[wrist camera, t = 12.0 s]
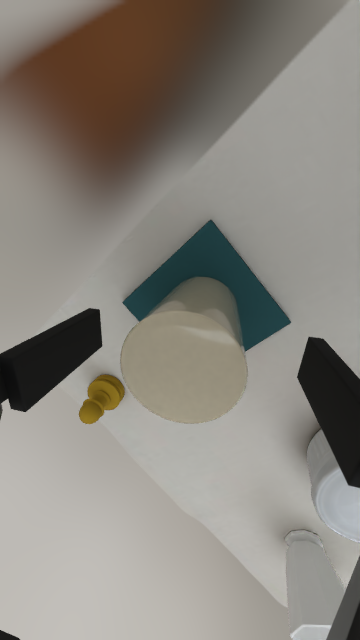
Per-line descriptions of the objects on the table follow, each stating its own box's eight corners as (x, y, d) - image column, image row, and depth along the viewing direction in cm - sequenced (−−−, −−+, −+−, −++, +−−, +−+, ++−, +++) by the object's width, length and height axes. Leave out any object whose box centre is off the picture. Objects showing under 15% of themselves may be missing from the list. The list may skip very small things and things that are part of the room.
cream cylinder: (167, 273, 20) (117, 303, 11) (244, 280, 19) (259, 320, 10) (165, 340, 22) (121, 411, 13) (232, 349, 21) (236, 434, 12)
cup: (305, 514, 27) (335, 618, 20) (364, 561, 28) (414, 678, 21) (262, 534, 30) (274, 632, 23) (317, 576, 31) (345, 684, 23)
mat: (124, 300, 23) (121, 302, 22) (211, 219, 19) (210, 219, 18) (195, 379, 24) (194, 383, 23) (289, 320, 20) (291, 322, 19)
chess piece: (109, 407, 28) (86, 441, 23) (87, 384, 27) (58, 414, 23) (131, 393, 26) (110, 426, 22) (108, 368, 26) (82, 397, 21)
